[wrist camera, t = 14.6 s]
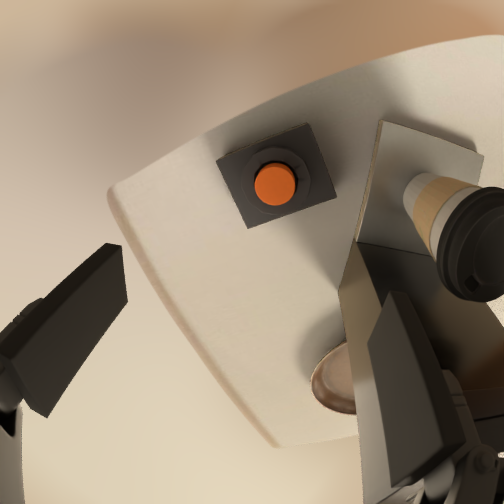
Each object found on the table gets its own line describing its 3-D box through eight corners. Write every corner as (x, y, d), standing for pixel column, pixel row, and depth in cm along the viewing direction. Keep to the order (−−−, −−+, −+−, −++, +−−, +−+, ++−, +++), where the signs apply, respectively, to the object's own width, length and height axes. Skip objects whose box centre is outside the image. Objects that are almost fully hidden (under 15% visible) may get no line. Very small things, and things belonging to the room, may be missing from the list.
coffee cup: (379, 226, 32) (426, 304, 19) (400, 145, 28) (474, 177, 14) (445, 242, 31) (506, 315, 18) (467, 170, 27) (551, 214, 14)
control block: (307, 122, 30) (309, 123, 25) (333, 189, 32) (339, 202, 28) (222, 156, 32) (211, 164, 28) (251, 219, 35) (245, 235, 31)
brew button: (286, 157, 27) (285, 160, 25) (300, 191, 28) (301, 197, 27) (251, 171, 28) (248, 175, 26) (265, 204, 30) (264, 211, 28)
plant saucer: (328, 412, 50) (329, 426, 47) (291, 342, 43) (290, 358, 40) (432, 381, 44) (437, 394, 41) (426, 297, 37) (434, 311, 34)
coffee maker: (379, 119, 28) (605, 186, 3) (478, 153, 27) (661, 259, 2) (337, 292, 38) (363, 512, 13) (427, 304, 37) (498, 481, 12)
